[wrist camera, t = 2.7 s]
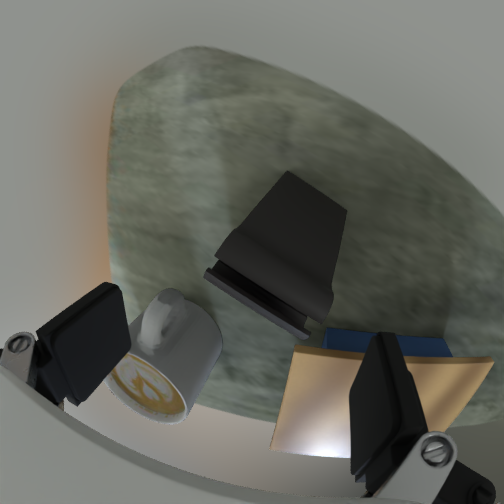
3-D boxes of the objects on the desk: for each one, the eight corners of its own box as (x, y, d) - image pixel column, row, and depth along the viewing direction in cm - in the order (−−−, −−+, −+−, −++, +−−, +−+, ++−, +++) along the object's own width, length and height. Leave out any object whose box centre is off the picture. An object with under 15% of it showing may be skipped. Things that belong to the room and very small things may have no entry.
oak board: (490, 356, 16) (494, 362, 15) (422, 448, 22) (423, 454, 21) (295, 343, 20) (293, 351, 19) (270, 443, 26) (269, 449, 25)
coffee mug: (205, 377, 32) (174, 435, 23) (140, 337, 32) (96, 385, 23) (250, 303, 27) (217, 371, 18) (165, 254, 27) (103, 298, 18)
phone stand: (287, 169, 22) (259, 178, 11) (347, 210, 22) (377, 259, 11) (235, 253, 25) (175, 324, 14) (288, 288, 25) (265, 380, 14)
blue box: (443, 338, 23) (461, 372, 18) (403, 407, 27) (410, 442, 22) (326, 327, 26) (326, 367, 20) (304, 401, 30) (299, 439, 24)
